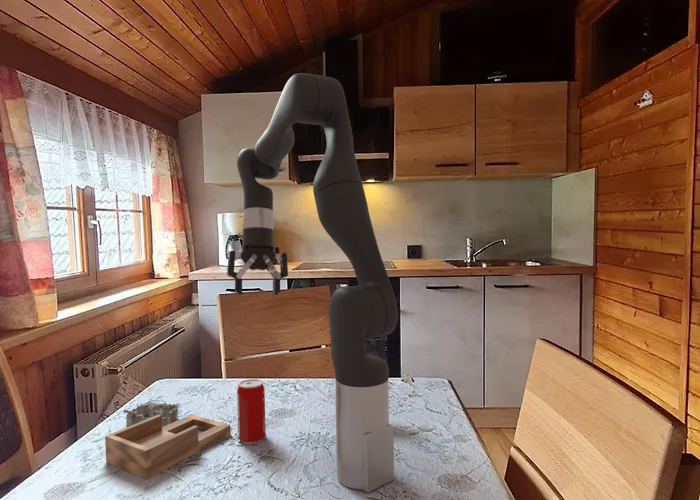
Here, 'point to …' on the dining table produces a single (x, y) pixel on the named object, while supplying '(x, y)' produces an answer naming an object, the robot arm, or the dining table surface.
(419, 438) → the dining table surface
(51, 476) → the dining table surface
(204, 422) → the two-compartment wooden tray
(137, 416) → the grey piece
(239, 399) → the soda can
